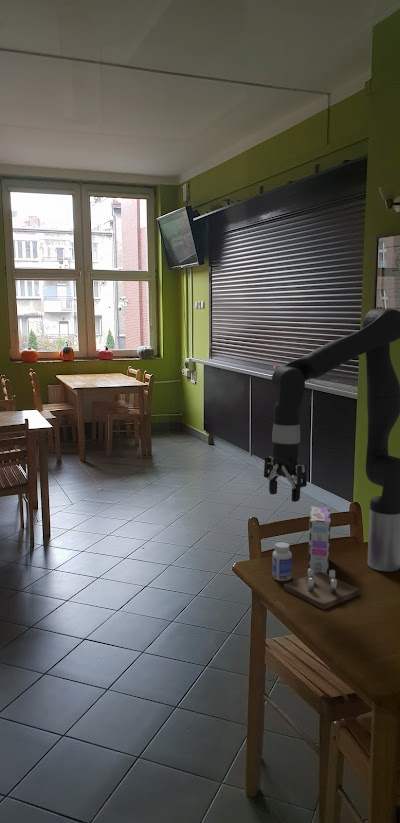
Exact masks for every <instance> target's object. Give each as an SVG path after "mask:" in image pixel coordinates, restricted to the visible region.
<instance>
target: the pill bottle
mask: <svg viewBox="0 0 400 823" xmlns="http://www.w3.org/2000/svg"><path fill="white" fill-rule="evenodd" d="M292 557H293V554H292V552H291V551H290V544H289V543H287V542H283V541H282V542H281V541H280V542H276V543H275V544H274V550H273V551H272V557H271V558H272V559H271V560H272V568H271V570H272V572H271V573H272V578H273V580H275V581H279V582H287V581H289V580H290V581H291V579H292V574H293V572H292V571H293V570H292V569H293V568H292V564H293V561H292V560H293V558H292Z"/></svg>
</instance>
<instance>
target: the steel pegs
mask: <svg viewBox="0 0 400 823" xmlns="http://www.w3.org/2000/svg"><path fill="white" fill-rule="evenodd" d="M306 573H307V575H306V576H307V582H308V592H314V578H313V569H312V568H309V567H308V568H307V572H306ZM328 576H329V584H330V593H332V594H336V591H337V580H338V579H337V578H336V570H335V569H329V571H328ZM336 579H337V580H336Z"/></svg>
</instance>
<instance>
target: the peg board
mask: <svg viewBox="0 0 400 823" xmlns="http://www.w3.org/2000/svg"><path fill="white" fill-rule="evenodd" d="M313 578H314V592H308V582H307V575H306V576H303V577H301V578H298V579H295V580H293V581H290V582H287V583H284V585H283V590H284V591H285V592H288V593H290V594H292V595H294V596H295V597H298V598H299V599H301V600H303V601H305V602H308V603H309V604H311V605H313V606H315V607H317V608H319V609H322V610H323V611H324V610H326V609H328V608H331V607H333V606H336V605H339V604H340V603H343V602H345V601H347V600H351V599H353V598H354V597H357V596H359V595H360V588H357V587H355V586H353V585H350V584H348V583H347V582H344V581H342V580H339V579H338V578H335V579H336V580H337V591H336V594H332V593H330V584H329V574H328V575H326V574H324V573H322V572H318V573H315V574H313Z"/></svg>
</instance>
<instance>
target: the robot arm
mask: <svg viewBox="0 0 400 823" xmlns="http://www.w3.org/2000/svg"><path fill="white" fill-rule="evenodd" d="M399 339H400V310H398V309H394V308H373V309H370V310H369V311H368V312H367V313H366V314H365V316H364V317H363V321H362V329H360V330H358V331H356V332H353V333H351V334H349V335H346V336H344V337H341V338H338V339H335V340H332V341H330V342H328V343H326V344H323V345H322V346H319V347H317V348H316V349H314V350H313V351H310V352H309V353H308V354H306V355H304V356H302V357H299V358H297V359H294V360H291V361H289V362H287V363H285V364H283V365H281V366H279V367H278V368H276V369H275V370H274V371H273V373H272V375H271V376H272V377H271V384H272V386H273V388H274V389H275V390H277V391H279V396H278V401H277V402H276V403H275V405H274V407H273V426H272V433H271V435H272V436H271V438H272V439H271V456H270V455H269V456H265V457H264V465H263V478H265V479H267V480H268V481H269V483H268V484H269V485H268V491H269V494H270V495H272V496H273V495H277V493H278V479H279V477H283V478H285V479H286V480H287V481H288V482H289V483H290V485H291V487H292V488H291V502H293V503H295V502H299V500H300V499H301V489H302V488H304V487H307V486H308V483H307V482H308V479H307V478H308V477H307V476H308V474H307V471H308V470H307V469H308V468H307V467H308V466H307V464H299V463H298V459H299V457H300V447H301V444H300V443H301V430H300V428H301V423H300V422H301V406H302V404H303V398H304V394H305V388H306V381H308V380H311V379H317V378H320V377H322V376H324V375H325V374H328V373H329V372H332V371H333V370H334V369H336V368H339V366H341V365H343V364H345V363H348V362H349V361H351V360H352V359H355V358H356V357H359V356H361V355H362V354H365V360H366V364H365V366H366V368H365V369H366V405H367V406H366V408H367V445H366V454H365V456H366V457H365V474H366V477H367V479H368V481H369V482H371V483H372V484H374V485H377V486H380V487H382V491H381V495H379V496H375V497H372V498H371V500H370V501H369V518H368V520H369V523H368V539H367V540H368V543H367V544H368V545H367V562H366V564H367V566H368V567H370V568H371V569H373V570H376V571H379V572H396V571H398V570H400V458H399V457H396V456H392V455H389V438H390V434H391V432H392V430H393V428H394V426H395V424H396V423H397V420H398V419H399V417H400V382H399V377H398V375H397V373H396V371H395V368H394V365H393V363H392V359H391V343H393V342H395V341H398V340H399Z"/></svg>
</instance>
